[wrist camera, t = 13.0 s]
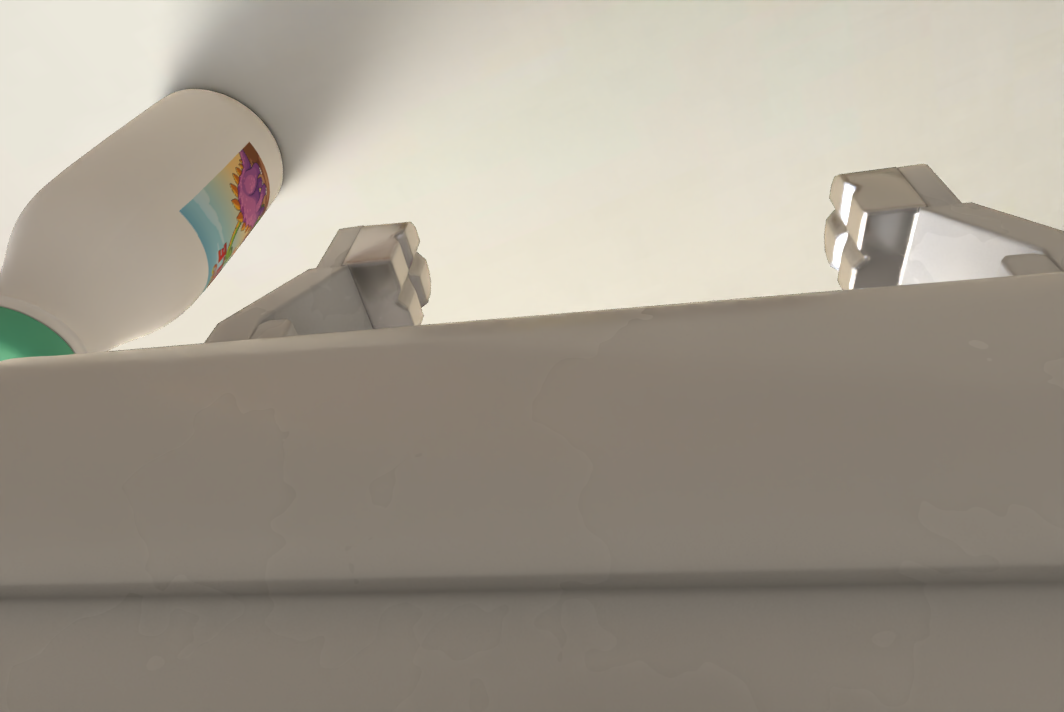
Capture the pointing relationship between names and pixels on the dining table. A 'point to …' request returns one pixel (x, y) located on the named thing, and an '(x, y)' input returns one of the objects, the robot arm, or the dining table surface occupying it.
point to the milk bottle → (136, 227)
